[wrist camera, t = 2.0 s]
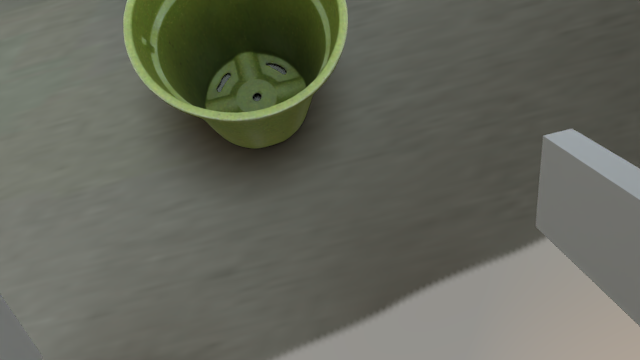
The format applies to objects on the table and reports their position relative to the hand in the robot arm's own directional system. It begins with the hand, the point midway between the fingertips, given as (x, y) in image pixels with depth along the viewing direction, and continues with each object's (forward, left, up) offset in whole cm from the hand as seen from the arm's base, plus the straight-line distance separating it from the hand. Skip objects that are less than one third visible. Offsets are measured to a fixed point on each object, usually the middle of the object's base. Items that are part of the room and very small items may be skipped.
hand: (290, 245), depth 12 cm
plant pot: (0, -11, -15) cm, 19 cm away
